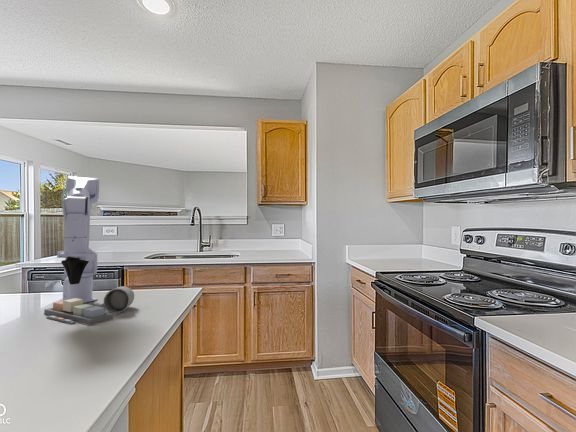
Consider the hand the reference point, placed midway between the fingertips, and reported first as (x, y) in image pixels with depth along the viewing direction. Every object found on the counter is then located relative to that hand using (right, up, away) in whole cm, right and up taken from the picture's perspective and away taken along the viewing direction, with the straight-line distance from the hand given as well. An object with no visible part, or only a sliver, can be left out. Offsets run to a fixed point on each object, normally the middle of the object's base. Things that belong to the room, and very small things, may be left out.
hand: (74, 283), depth 99 cm
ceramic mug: (+7, -11, +11) cm, 17 cm away
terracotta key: (-8, -10, +6) cm, 14 cm away
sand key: (-3, -9, +4) cm, 10 cm away
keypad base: (-1, -10, +3) cm, 11 cm away
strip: (-3, -10, -2) cm, 11 cm away
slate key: (+6, -10, 0) cm, 12 cm away
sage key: (+1, -10, +2) cm, 10 cm away
